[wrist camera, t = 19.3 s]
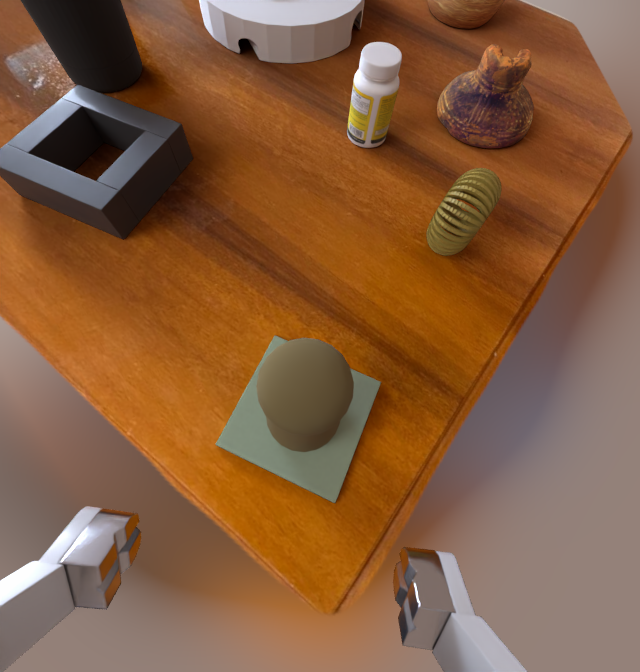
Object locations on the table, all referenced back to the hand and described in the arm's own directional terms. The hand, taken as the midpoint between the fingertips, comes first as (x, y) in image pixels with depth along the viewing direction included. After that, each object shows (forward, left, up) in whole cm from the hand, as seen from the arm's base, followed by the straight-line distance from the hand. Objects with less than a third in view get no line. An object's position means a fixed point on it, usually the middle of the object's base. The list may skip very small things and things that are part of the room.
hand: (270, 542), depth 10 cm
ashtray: (+57, +29, -15) cm, 66 cm away
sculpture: (+28, -4, -15) cm, 32 cm away
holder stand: (+20, +31, -15) cm, 40 cm away
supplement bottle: (+39, +9, -15) cm, 43 cm away
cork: (+6, +2, -15) cm, 16 cm away
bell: (+49, -3, -15) cm, 52 cm away
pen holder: (+34, +42, -15) cm, 56 cm away
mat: (+6, +2, -15) cm, 17 cm away
